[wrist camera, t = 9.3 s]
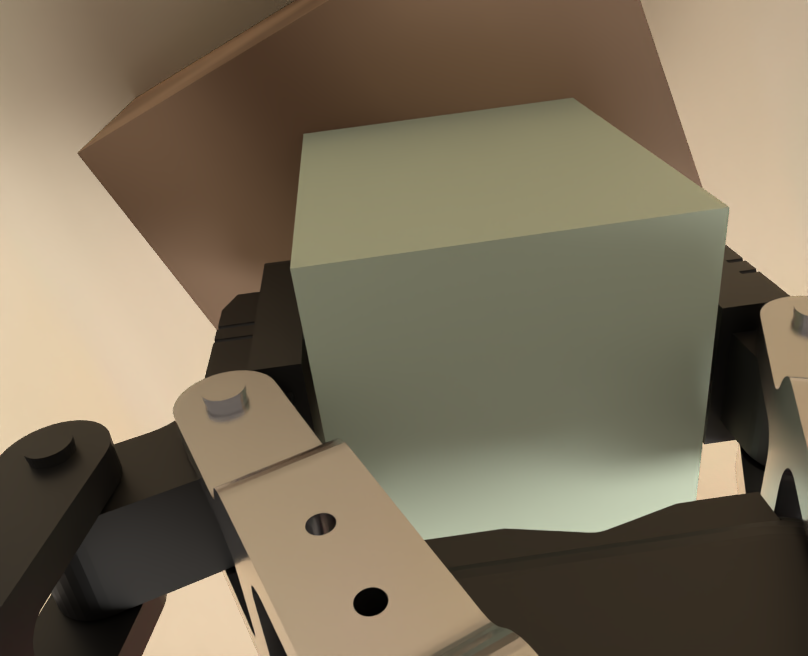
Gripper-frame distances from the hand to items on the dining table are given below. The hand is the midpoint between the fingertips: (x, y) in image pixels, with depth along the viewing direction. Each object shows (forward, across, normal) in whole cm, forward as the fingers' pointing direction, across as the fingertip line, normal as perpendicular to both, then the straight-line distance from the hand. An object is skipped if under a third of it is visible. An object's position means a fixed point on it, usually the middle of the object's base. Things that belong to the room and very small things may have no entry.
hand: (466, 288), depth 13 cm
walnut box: (+7, 0, 0) cm, 7 cm away
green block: (+2, 0, 0) cm, 2 cm away
